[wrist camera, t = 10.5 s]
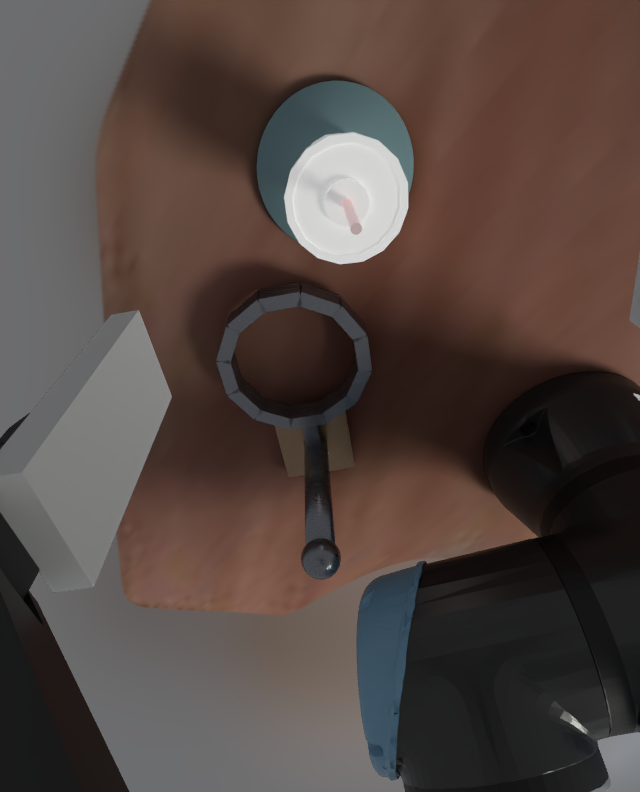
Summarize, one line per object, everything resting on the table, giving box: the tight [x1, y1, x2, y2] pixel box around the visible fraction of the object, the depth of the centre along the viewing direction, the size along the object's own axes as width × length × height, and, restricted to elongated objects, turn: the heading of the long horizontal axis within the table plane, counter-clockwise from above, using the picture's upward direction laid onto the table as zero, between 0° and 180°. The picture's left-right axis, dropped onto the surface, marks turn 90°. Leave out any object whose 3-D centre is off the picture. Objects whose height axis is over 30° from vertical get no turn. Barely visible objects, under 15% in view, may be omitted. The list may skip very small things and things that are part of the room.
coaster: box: [257, 81, 414, 241], centre depth 33 cm, size 10×10×1 cm
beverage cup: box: [284, 132, 408, 264], centre depth 27 cm, size 6×6×14 cm
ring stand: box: [216, 282, 372, 580], centre depth 35 cm, size 18×11×14 cm, turn 10°
